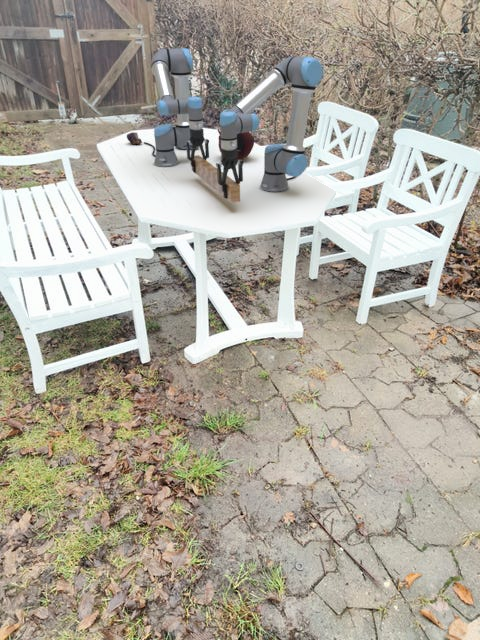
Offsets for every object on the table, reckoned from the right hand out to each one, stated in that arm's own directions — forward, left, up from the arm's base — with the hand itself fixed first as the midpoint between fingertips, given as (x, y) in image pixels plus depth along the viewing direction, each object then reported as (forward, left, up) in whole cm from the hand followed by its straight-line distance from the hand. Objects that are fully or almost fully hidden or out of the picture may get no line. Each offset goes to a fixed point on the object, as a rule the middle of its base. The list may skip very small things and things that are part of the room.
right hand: (230, 196), depth 223 cm
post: (-12, -21, -1) cm, 24 cm away
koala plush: (-79, -102, -6) cm, 129 cm away
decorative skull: (-75, -54, -6) cm, 93 cm away
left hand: (-23, -41, 0) cm, 47 cm away
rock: (-64, -141, -6) cm, 155 cm away
